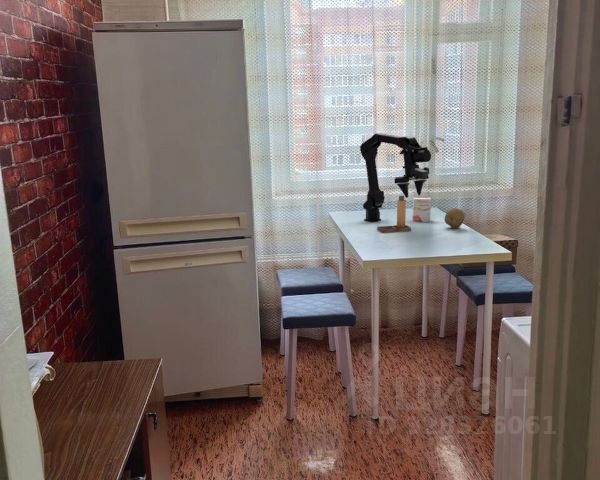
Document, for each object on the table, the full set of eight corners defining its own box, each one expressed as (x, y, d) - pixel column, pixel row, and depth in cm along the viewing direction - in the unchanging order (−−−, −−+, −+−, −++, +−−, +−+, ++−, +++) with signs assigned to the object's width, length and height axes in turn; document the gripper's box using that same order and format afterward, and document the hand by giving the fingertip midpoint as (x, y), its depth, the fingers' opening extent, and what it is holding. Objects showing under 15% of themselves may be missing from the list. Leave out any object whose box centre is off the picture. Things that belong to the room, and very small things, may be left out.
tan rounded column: (394, 229, 292) (395, 196, 289) (399, 228, 295) (400, 195, 291) (402, 231, 290) (402, 197, 286) (407, 229, 292) (407, 195, 289)
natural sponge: (449, 231, 288) (450, 210, 286) (440, 227, 297) (441, 207, 295) (467, 230, 291) (468, 209, 288) (457, 226, 299) (458, 205, 297)
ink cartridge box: (413, 222, 311) (413, 192, 308) (412, 220, 316) (412, 191, 312) (430, 222, 310) (431, 192, 307) (429, 220, 315) (430, 191, 311)
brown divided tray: (382, 234, 287) (382, 229, 286) (377, 230, 294) (377, 226, 293) (410, 231, 290) (411, 227, 290) (405, 228, 297) (405, 224, 296)
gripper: (411, 164, 280) (414, 198, 282) (436, 160, 292) (439, 193, 294) (392, 165, 289) (395, 199, 291) (417, 161, 301) (420, 194, 303)
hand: (413, 196), depth 295 cm, fingers open, 9 cm apart
